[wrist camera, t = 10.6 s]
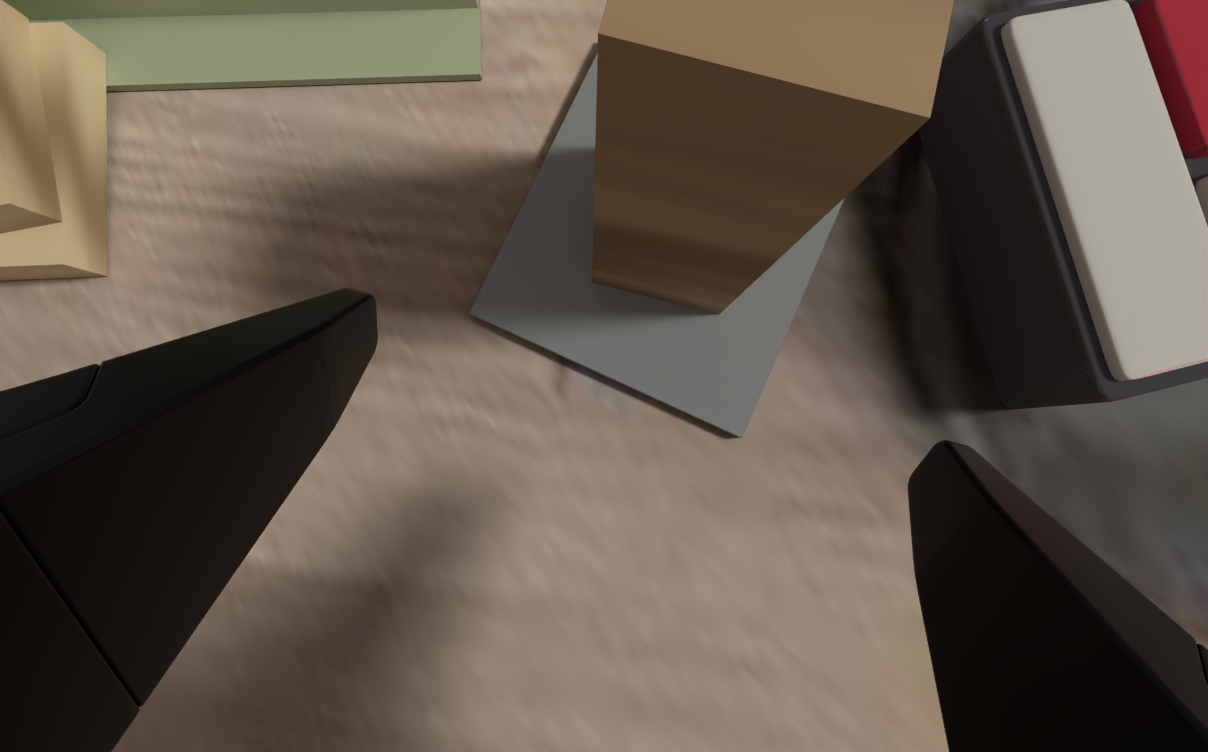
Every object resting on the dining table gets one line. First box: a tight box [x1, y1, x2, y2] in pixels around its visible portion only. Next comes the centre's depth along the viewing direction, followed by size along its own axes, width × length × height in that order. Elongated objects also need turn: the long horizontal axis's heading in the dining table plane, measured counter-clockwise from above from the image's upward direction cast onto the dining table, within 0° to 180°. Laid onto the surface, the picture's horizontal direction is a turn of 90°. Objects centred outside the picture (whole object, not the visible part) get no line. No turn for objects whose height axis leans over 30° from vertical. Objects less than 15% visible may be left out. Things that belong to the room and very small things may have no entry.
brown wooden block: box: [592, 0, 954, 314], centre depth 13 cm, size 4×4×11 cm
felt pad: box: [469, 53, 844, 438], centre depth 18 cm, size 10×9×1 cm
